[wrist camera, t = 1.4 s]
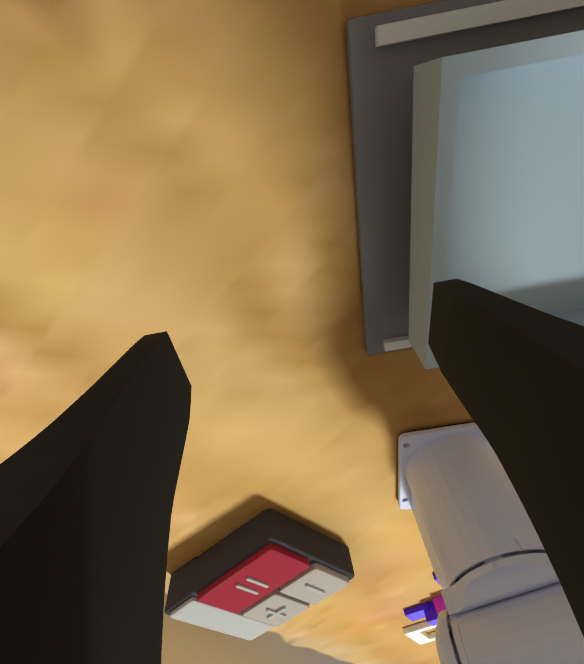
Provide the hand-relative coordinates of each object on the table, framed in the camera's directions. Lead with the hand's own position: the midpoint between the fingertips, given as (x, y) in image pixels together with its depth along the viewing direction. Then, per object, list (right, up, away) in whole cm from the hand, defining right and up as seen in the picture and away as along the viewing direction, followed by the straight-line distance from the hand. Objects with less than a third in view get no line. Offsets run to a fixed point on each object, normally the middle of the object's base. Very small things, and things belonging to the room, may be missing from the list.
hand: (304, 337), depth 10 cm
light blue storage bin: (+11, +7, +8) cm, 15 cm away
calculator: (-4, -23, +26) cm, 35 cm away
